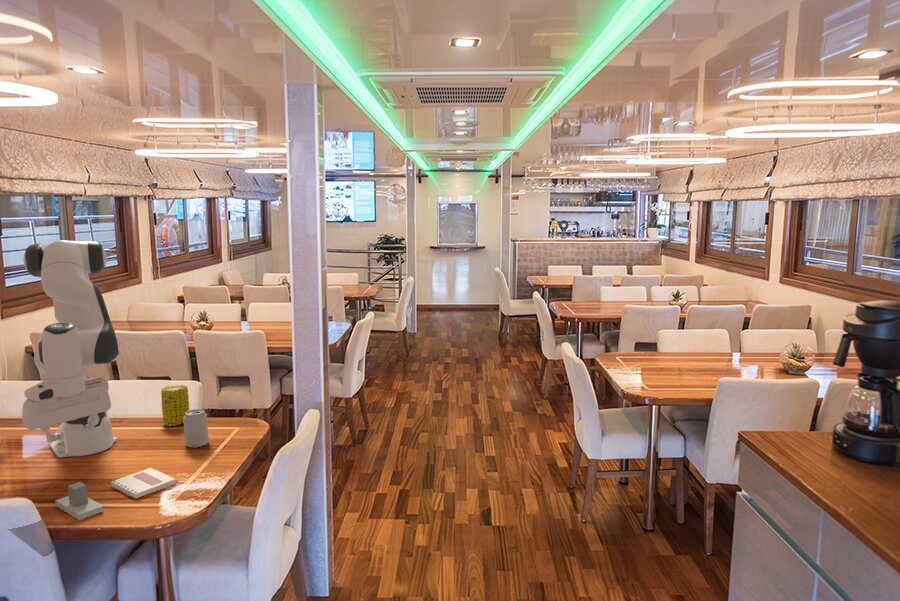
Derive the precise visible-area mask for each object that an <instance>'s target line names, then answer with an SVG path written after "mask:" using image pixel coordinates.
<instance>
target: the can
mask: <svg viewBox="0 0 900 601" xmlns="http://www.w3.org/2000/svg"><path fill="white" fill-rule="evenodd" d="M183 421H184V423H183V430H184V433H183V434H184V441H185V442H184V443H185V446H186V447H188V448H190V449H198V447H200V448H203V447H205V446H207V444H208V443H209V429H208V428H209V427H208V426H209V425H208V414H207V413H206V412H205V410H204V409H201V408H198V409H197V408H196V409H191V410H190V409H189V411H187V412H186V413H185V416H184V417H183ZM204 445H205V446H204ZM202 446H203V447H202Z"/></svg>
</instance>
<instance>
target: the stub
mask: <svg viewBox="0 0 900 601" xmlns="http://www.w3.org/2000/svg"><path fill="white" fill-rule="evenodd" d="M67 493H68V494H67V496H64V497H61V498H59V499H55V507H57V508H58V507H59V508H58V509H60V510H61V511H63V510H64V511H63V512H65V513H66V512H67V513H66V514H68V515H69V514H70V516H71V515H72V516H71V517H73V518H74V517H75V519H76V518H77V519H78V521H79V520H80V521H82V520H85V519H87V518H86V517H88V518H90V517H92V515H93V516H95V515H98V514H100V512H101V513H103V512H104V505H102V504H101V503H99V502H97V501H95V500H93V499H92V498H90V497H88V487H87V484H86V483H83V482H81V481H78V482H75V483H72V484H69V485H67ZM102 511H103V512H102ZM97 513H98V514H97ZM84 518H85V519H84ZM77 519H76V520H77ZM81 519H82V520H81Z"/></svg>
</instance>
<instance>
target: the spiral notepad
mask: <svg viewBox="0 0 900 601" xmlns="http://www.w3.org/2000/svg"><path fill="white" fill-rule="evenodd" d="M176 481H177V479H176V478H174V477H172V476H170V475H169V474H165V473H164V472H161V471H159V470H156V469H155V468H152V467H149V468H146V469H143V470H140V471H138V472H135V473H132V474H131V473H130V474H129V475H126V476H123V477H121V478H117V479H115V480H112V481H111V487H112V488H113V487H114V488H113V489H115V488H116V489H115V490H117V489H118V490H117V491H119V490H120V492H121V491H122V492H121V493H123V492H124V493H123V494H125V493H126V494H125V495H127V494H128V495H127V496H129V495H130V496H132V497H134V498H139V497H141V496H143V495H146V494H149V493H152V492H154V493H156V492H155V491H157V490H159V491H161V490H160V489H162V488H165V489H167V488H169V486H170V487H172V486H175V485H177V482H176ZM174 484H175V485H174ZM171 485H172V486H171ZM166 487H167V488H166ZM162 490H163V489H162ZM157 492H158V491H157ZM152 494H153V493H152ZM149 495H150V494H149ZM130 496H129V497H130ZM146 496H147V495H146ZM132 497H131V498H132ZM134 498H133V499H134ZM141 498H142V497H141ZM139 499H140V498H139Z"/></svg>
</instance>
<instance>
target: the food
mask: <svg viewBox="0 0 900 601" xmlns="http://www.w3.org/2000/svg"><path fill="white" fill-rule="evenodd" d="M160 395H161V410H162V411H161V413H162V414H161V415H162V423H163V425H164V426H166V427H170V428H172V427H176V426H180V425H181V424H184V421H183V417H184V416H185V413H186V412H187V411H190V400H189V388H188V386H187V385H185V384H183V385H181V384H180V385H178V384H176V385H171V386H170V385H168V386H165V387H163V388H161V391H160ZM171 426H172V427H171Z"/></svg>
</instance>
